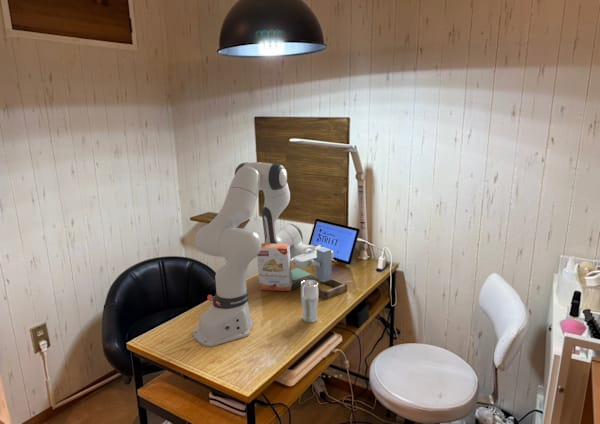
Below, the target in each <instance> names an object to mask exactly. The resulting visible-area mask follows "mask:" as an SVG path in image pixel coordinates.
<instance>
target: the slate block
mask: <svg viewBox="0 0 600 424" xmlns="http://www.w3.org/2000/svg"><path fill="white" fill-rule="evenodd" d="M322 247H323V248H320V249H317V250H316V251H317V262H318V261H319V262H321V266H319V267H318V266H316V277H317V279H318V281H320V282H323V283H326V281H329V280H331V279H332V278H333V277H332V276H333V275H332V274H333V273H332V262H331V260H332V259H331V250H332V249H330V248H327V247H325V246H322Z"/></svg>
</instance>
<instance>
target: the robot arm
mask: <svg viewBox="0 0 600 424" xmlns="http://www.w3.org/2000/svg"><path fill="white" fill-rule="evenodd" d="M260 191H263V194H264V195H263V196H264V203H263V207H262V210H261V218H262V225H263V226H262V227H263V234H264V235H263V236H264V243H265V244H290V257H291V260H290V262H291V264H293V265H294V267H296V268H299V269H301V270H303V269H306V268H309V267H313V266H314V267H317V266H318V267H319V266H321V262H319V261H318V262H317V251H316V250H317V249H320V248H323V247H324V246H322V245H320V244H305V243H303V242H304V238H303V232H302V231H301V229H300V228H299V227H298V226H297V225H296V224H293V223H287V224H286V225H284V226H282V227H281V228H280V229H278V231H277V227H276V223H277V220H278V218H279V216H280V215H281V214H282V213H283V212H284V210H285V209H287V206H288V205H289V203H290V200H291V191H290V188H289V184H288V171H287V169H286V168H285V166H283V165H282V164H280V163H271V162H270V163H269V162H261V161H260V162H259V161H255V162H247V161H246V162H242V163H239V164H238V166H236V168H235V171H234V177H233V178H232V181H231V183H230V185H229V188H228V191H227V193H226V197H225V200H224V202H223V204H222V207H221V209H220V211H219V212H218V213H217V215H216V216H215V217H214V218H213V219H211V221H210V222H209V223H207V224H205V225H204V226H201V227H200V228H199V229H198V230H197V232H196V234H195V238H194V244H195V247H196V249H197V251H199V252H201V253H203V254H206V255H208V256H211V257H220V258H225V265H223V266H221V267H219V268H218V269H217V271H216V273H215V277H214V279H215V289H216V292H215V295H214V296H213V294H208V295H207V297H206V298H207V300H208V302H212V304H211V305H210V306H209V307H208V308H207V309H206V310H205V311H204V312H203V314H201V315H200V317H199V319H198V326H197V327H196V328H193V330H192V337H193V338H194V339H195V340H196V341H197V342H198V343H199V344H200V345H203V346H204V347H208V348H209V347H211V348H212V347H215V346H217V345H221V344H225V343H228V342H232V341H235V340H238V339H242V338H246V337H248V336H249V335H250V332H251V330H252V328H253V327H254V321H253V319H252V316H251V313H250V312H251V311H250V308H249V291H248V288H247V270H248V267H249V265H250V263H251V262H252V261H253V260H254V259H256V258H257V255H258V254H259V252H260V250H261V245H262V244H261V243H262V239H261V237H260V234H259V233H257V232H255V231H253V230H251V229H250V230H249V229H247V228H239V226H240V225H241V224H242V223H244V222H248V220H249V219H251V218H252V215H253V213H254V210H255V207H256V203H257V200H258V197H259V196H258V195H259V192H260ZM334 255H335V254H334V250H332V249H331V263H332V260H333V259H334V257H335V256H334Z"/></svg>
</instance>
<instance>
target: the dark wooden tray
mask: <svg viewBox="0 0 600 424" xmlns="http://www.w3.org/2000/svg"><path fill="white" fill-rule="evenodd" d="M325 283H326V284H327V285H330V286H331V287H333V288H331V289H328V290H326V289H323V288H321V287H319V286H318V290H319V297H321V298H323V299H325V300H327V299H330V298H333V297H334V296H337V295H339V294H342V293H345V292H347V291H348V284H347V283H345V282H342V281H340V280H338V279H335V278H333V277H332V279H331V280H329V281H326V282H325Z"/></svg>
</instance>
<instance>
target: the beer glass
mask: <svg viewBox="0 0 600 424" xmlns="http://www.w3.org/2000/svg"><path fill="white" fill-rule="evenodd" d="M318 287H319V282H318V281H315V280H304V281H302V282H301V287H300V293H299V294H300V301H301V306H302V311H303V313H302V318H301V319H302V321H303V322H305V323H316V322H317V321H318V320H319V316H318V306H319V305H318V304H319V297H320V296H319V290H318Z"/></svg>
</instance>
